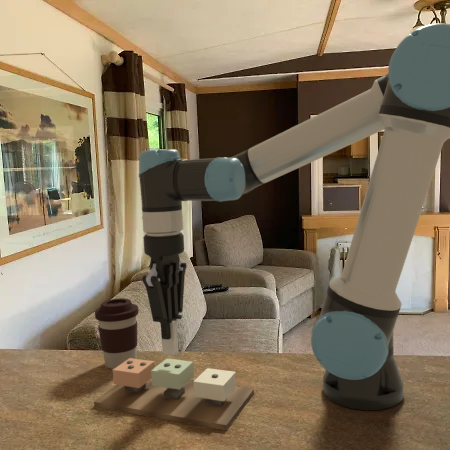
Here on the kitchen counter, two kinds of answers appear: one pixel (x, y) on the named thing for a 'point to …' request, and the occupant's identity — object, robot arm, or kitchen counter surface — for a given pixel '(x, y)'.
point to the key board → (176, 404)
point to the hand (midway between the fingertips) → (170, 352)
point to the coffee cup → (117, 330)
